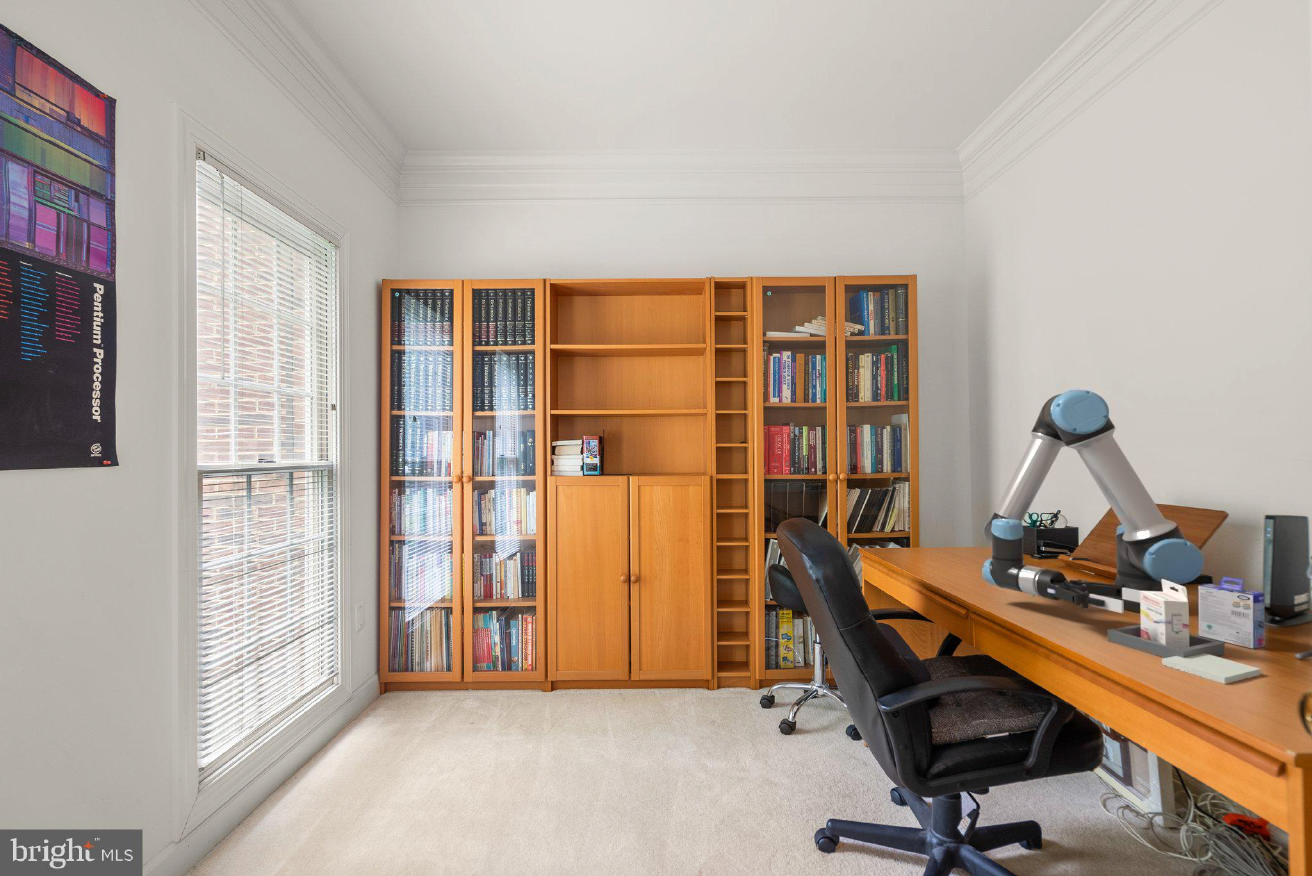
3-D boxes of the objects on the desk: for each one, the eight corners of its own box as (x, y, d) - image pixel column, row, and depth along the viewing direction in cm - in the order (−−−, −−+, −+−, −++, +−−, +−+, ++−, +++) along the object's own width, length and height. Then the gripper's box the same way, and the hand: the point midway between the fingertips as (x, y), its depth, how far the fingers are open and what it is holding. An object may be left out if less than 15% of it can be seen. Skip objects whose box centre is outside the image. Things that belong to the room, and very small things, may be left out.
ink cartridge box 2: (1267, 646, 125) (1266, 582, 125) (1255, 650, 123) (1254, 585, 123) (1209, 633, 134) (1208, 573, 134) (1197, 636, 132) (1196, 575, 132)
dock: (1147, 633, 134) (1147, 623, 134) (1224, 654, 121) (1224, 642, 121) (1107, 640, 129) (1107, 630, 129) (1183, 663, 116) (1183, 651, 116)
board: (1197, 656, 119) (1197, 651, 119) (1260, 674, 110) (1260, 668, 110) (1162, 664, 115) (1161, 658, 115) (1224, 684, 106) (1224, 677, 106)
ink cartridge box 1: (1139, 640, 130) (1137, 577, 130) (1163, 641, 129) (1162, 578, 129) (1164, 653, 121) (1163, 586, 121) (1191, 655, 120) (1189, 587, 120)
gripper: (1072, 591, 153) (1168, 612, 134) (1013, 602, 143) (1108, 627, 123) (1071, 564, 153) (1167, 581, 134) (1013, 573, 143) (1107, 593, 124)
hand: (1139, 603), depth 128 cm, fingers open, 13 cm apart
